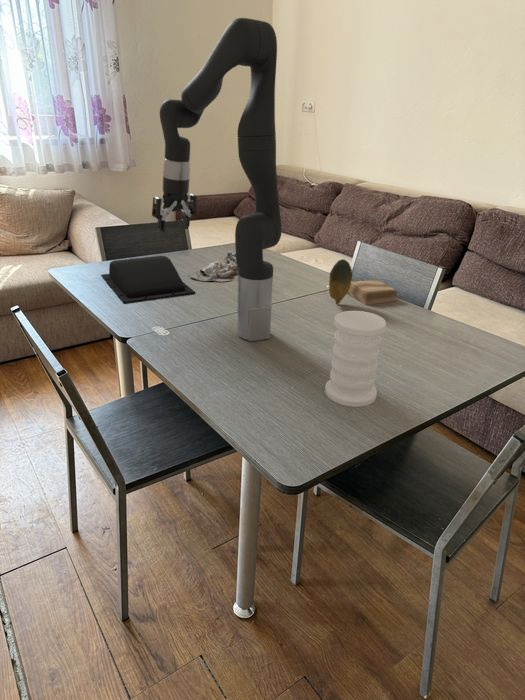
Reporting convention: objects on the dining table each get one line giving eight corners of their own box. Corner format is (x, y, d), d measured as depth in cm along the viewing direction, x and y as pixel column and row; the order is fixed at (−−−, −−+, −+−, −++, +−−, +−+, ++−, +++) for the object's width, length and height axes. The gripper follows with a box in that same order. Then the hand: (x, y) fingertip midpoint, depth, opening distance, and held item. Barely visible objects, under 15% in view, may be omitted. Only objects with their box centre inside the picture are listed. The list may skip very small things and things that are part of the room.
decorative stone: (339, 298, 173) (344, 255, 166) (353, 303, 169) (359, 259, 162) (320, 304, 167) (324, 259, 160) (334, 310, 163) (339, 264, 156)
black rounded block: (101, 277, 184) (124, 305, 161) (98, 254, 180) (121, 279, 157) (165, 270, 195) (195, 295, 171) (164, 248, 191) (194, 271, 168)
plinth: (395, 301, 173) (397, 289, 171) (365, 304, 168) (366, 293, 167) (375, 289, 183) (376, 278, 181) (346, 292, 178) (347, 281, 177)
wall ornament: (275, 253, 191) (203, 253, 175) (273, 280, 194) (203, 283, 178) (248, 248, 206) (180, 248, 190) (247, 274, 209) (179, 276, 193)
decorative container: (374, 410, 110) (386, 334, 102) (320, 401, 112) (328, 326, 105) (378, 385, 120) (389, 314, 112) (329, 377, 123) (336, 307, 115)
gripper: (162, 180, 141) (160, 236, 149) (203, 177, 150) (199, 231, 158) (147, 173, 145) (146, 228, 154) (188, 171, 154) (185, 223, 163)
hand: (173, 229), depth 156 cm, fingers open, 8 cm apart
